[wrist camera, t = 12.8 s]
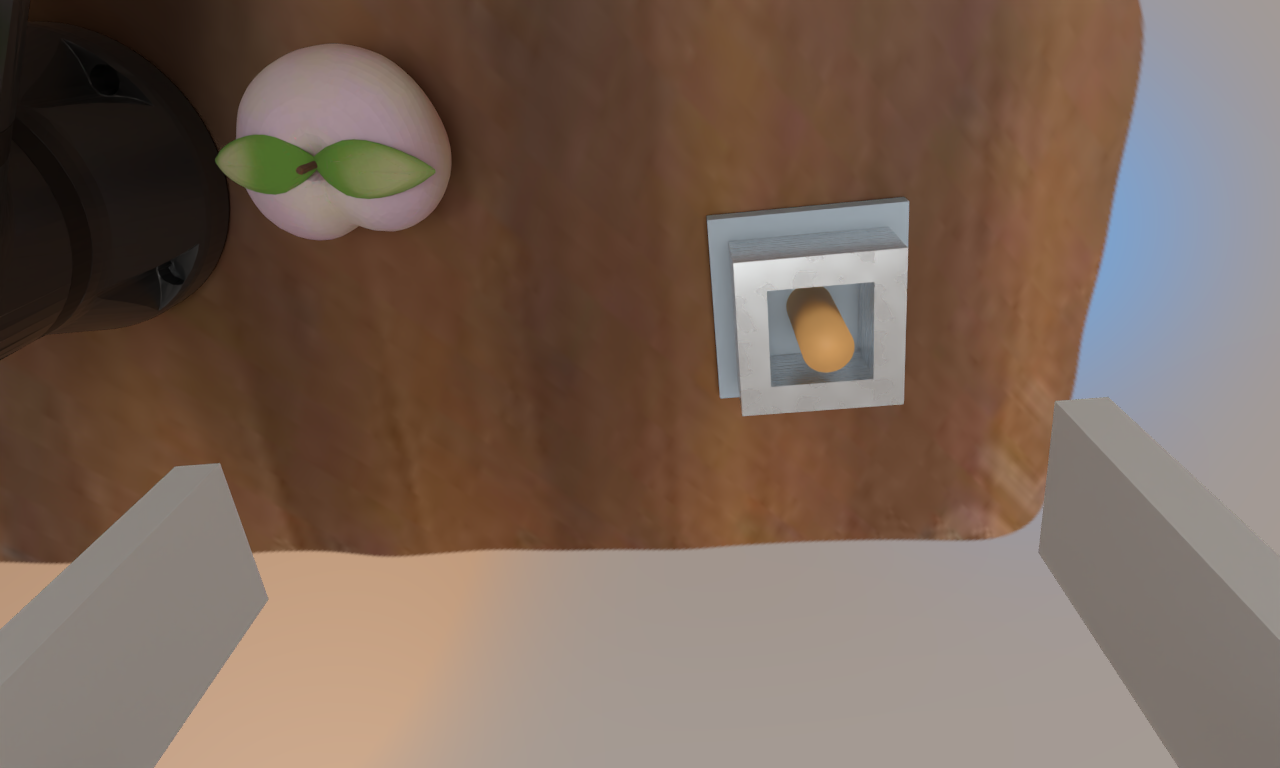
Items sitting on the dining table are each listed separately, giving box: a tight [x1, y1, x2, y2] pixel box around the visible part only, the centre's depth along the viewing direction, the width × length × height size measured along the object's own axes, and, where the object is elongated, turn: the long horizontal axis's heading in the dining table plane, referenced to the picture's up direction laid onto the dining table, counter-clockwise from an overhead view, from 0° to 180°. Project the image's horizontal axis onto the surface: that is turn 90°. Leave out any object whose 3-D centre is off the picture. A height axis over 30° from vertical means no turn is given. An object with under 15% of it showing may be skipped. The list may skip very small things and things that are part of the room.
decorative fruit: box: [215, 43, 452, 240], centre depth 38 cm, size 9×8×10 cm
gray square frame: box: [728, 226, 908, 416], centre depth 42 cm, size 8×8×4 cm
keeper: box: [707, 197, 909, 398], centre depth 42 cm, size 10×10×7 cm
